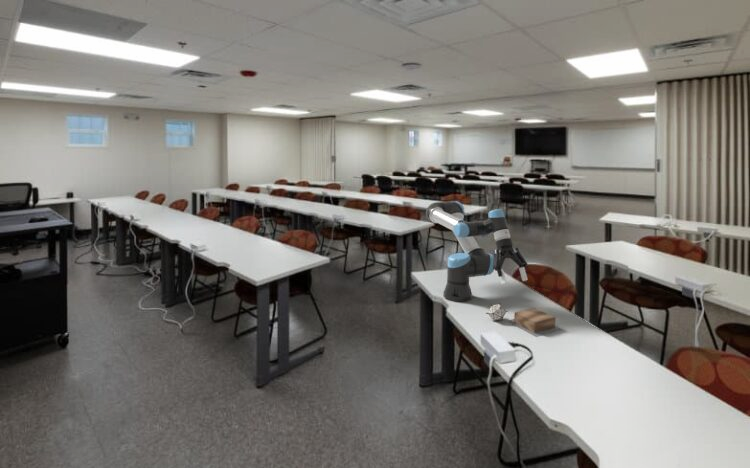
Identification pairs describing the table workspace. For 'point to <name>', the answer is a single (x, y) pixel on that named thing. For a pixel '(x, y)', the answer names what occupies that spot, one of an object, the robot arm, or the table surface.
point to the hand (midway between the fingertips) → (514, 282)
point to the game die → (496, 312)
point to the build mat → (537, 332)
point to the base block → (534, 320)
